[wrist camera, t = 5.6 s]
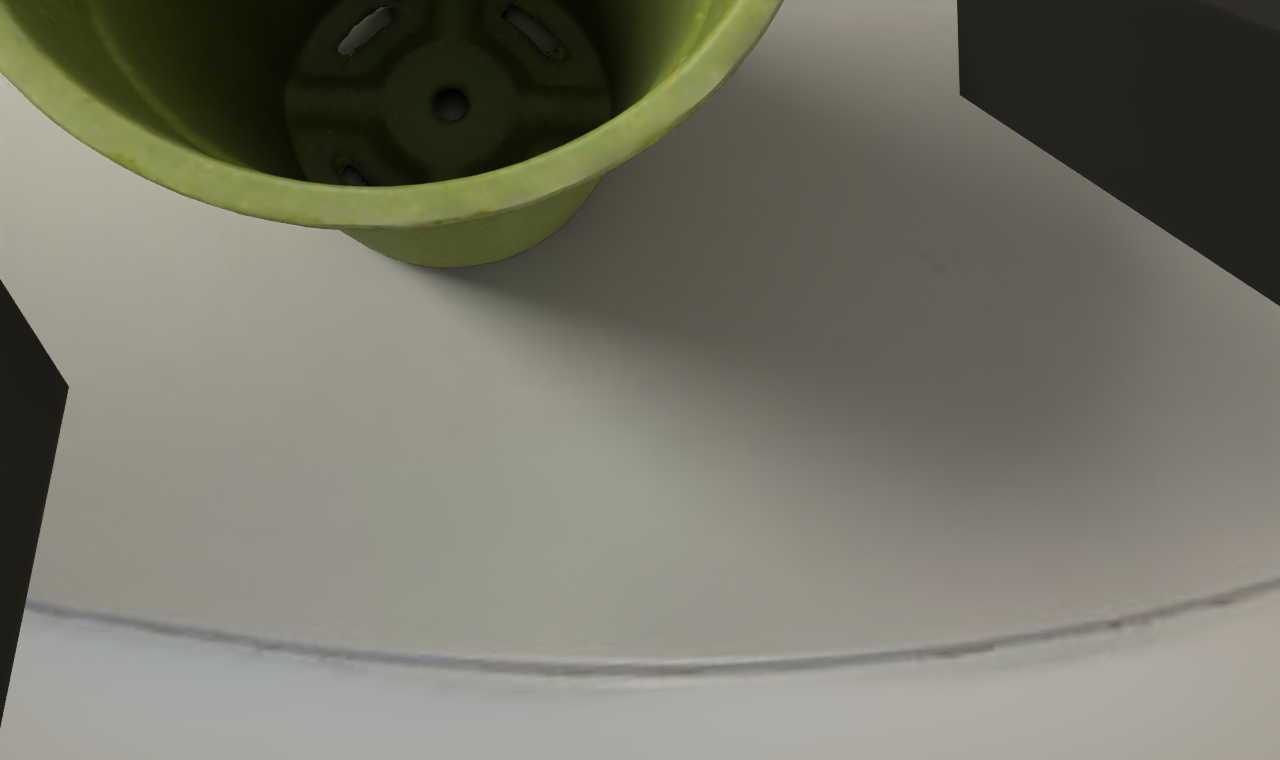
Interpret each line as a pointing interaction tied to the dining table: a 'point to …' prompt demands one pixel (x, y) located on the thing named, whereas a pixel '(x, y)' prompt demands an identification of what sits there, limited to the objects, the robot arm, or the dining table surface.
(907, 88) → the dining table surface
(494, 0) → the plant pot
